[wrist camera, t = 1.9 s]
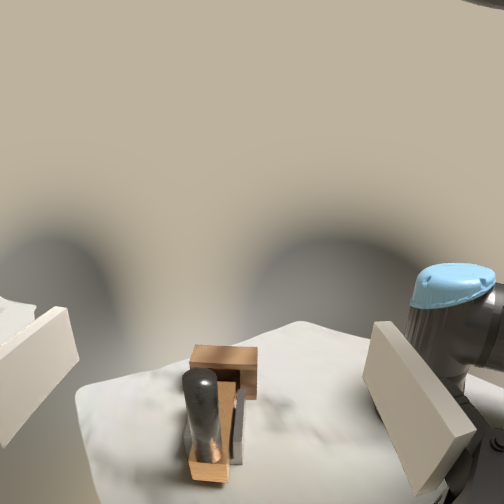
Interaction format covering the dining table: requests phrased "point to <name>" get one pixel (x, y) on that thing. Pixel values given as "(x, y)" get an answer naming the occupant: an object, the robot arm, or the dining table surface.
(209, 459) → the mallet
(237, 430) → the channel
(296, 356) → the dining table surface
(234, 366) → the socket block
